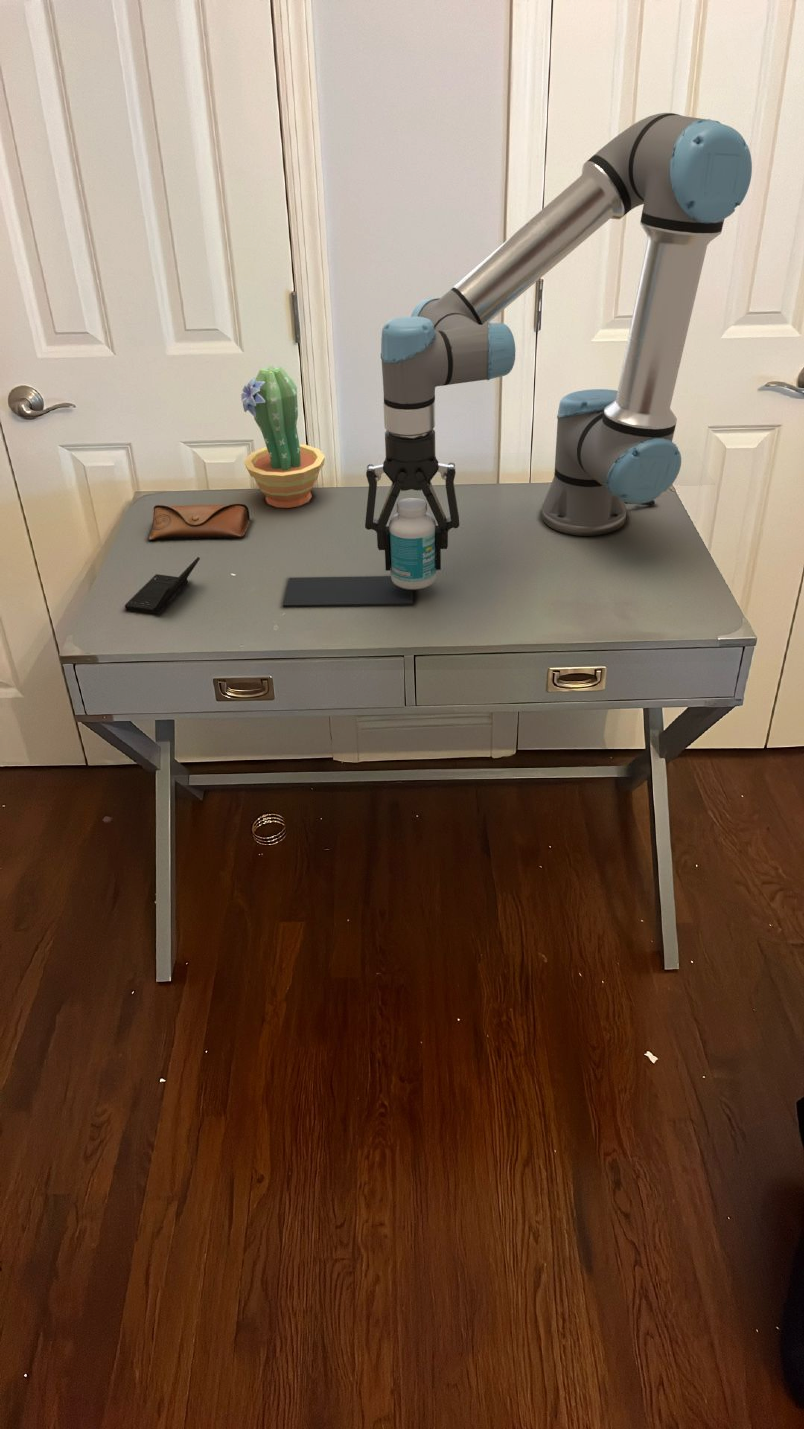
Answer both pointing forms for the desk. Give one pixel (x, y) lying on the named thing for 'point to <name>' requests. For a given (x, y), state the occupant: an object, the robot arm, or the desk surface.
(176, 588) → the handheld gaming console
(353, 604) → the desk mat
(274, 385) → the potted cactus
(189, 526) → the sunglasses case
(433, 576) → the pill bottle
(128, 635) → the desk surface
